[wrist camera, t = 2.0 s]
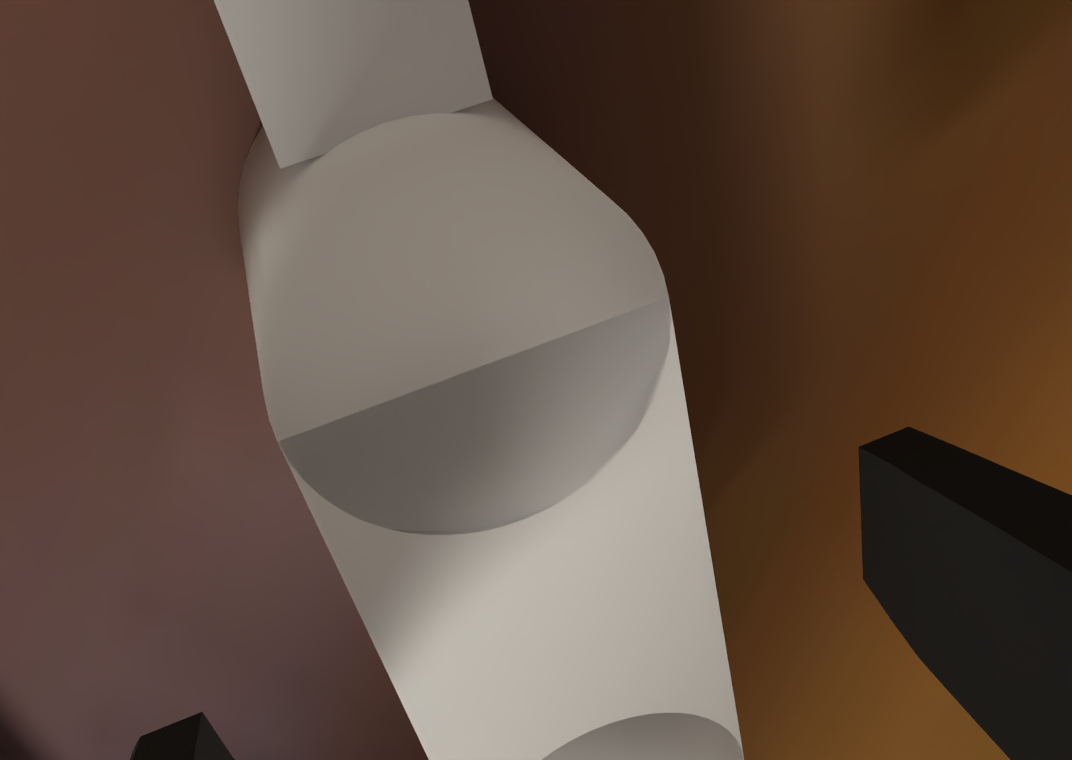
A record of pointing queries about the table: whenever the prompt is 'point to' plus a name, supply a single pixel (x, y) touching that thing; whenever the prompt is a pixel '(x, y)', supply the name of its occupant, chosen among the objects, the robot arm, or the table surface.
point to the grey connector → (475, 394)
